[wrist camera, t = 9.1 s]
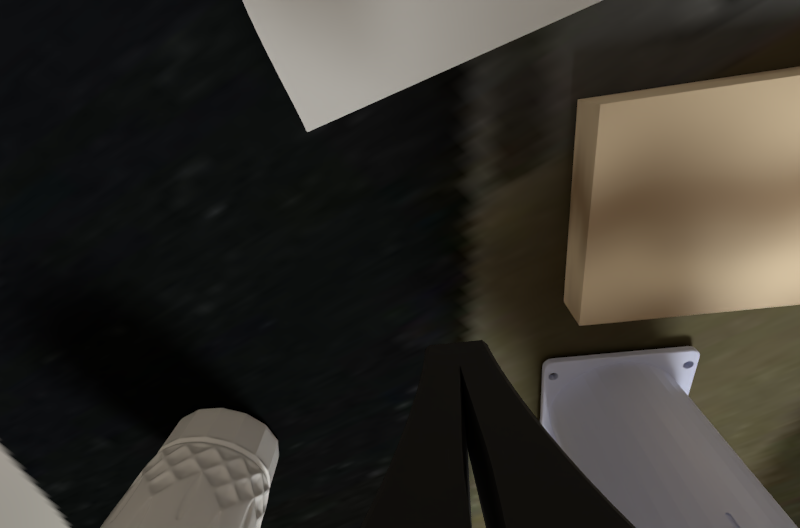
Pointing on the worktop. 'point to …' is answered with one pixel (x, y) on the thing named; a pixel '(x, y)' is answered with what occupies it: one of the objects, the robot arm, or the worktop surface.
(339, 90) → the kitchen cleaver
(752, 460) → the worktop surface
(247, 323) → the worktop surface
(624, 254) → the wooden board
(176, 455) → the white cup
